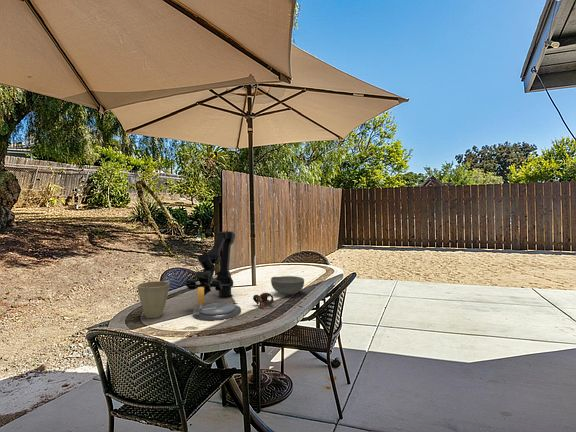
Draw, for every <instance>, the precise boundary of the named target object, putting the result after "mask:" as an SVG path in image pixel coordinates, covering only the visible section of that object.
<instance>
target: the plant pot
mask: <svg viewBox="0 0 576 432" xmlns="http://www.w3.org/2000/svg"><path fill="white" fill-rule="evenodd" d="M136 287H137V292H138V293H137V294H138V297H139V298H138V299H139V301H140V305H141V307H142V310H143V313H144V315H145V317H146V318H147V319H156V318H160V317H161V316H162V315H163V313H164V310H165V307H166V303H167V300H168V295H169V288H170V282H168V281H164V280H163V281H162V280H158V281H147V282H141V283H139V284H137V286H136Z"/></svg>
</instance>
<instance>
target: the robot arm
mask: <svg viewBox="0 0 576 432" xmlns="http://www.w3.org/2000/svg"><path fill="white" fill-rule="evenodd" d="M216 234H217V235H216V238H215V241H214V243H213V246H212V248H211V249H210V250H208V251H203V253H201V254H199V256H198V258H197V260H198V263H199V264H200V267H201V268H202V271H196V272H195V278H196V279H197V281H195V280H194V279H186V281H185V283H184V285H185V287H187V289H188V290H190V291H191V290H197V288H198V287H204V297H205V296H206V295H207V294H208V293H211V292H212V288H214V289H215V291H218V297H220V298H222V299H225V298H230V297H233V294H232V287H234V280H233V278H232V273H231V272H230V261H231V260H230V259H231V258H230V257H231V249H232V248H231V247H232V245H233V244H234V241H235V239H236V234H235V233H234V231H229V230H227V231H226V230H225V231H224V230H223V231H219V232H217V233H216ZM221 251H222V252H221ZM220 263H221V264H220ZM218 264H220V269H219V271H217V269H216V268H217V267H216V265H218ZM216 271H217V273H216V279H215V280H214V277H213V276H214V273H215V272H216Z"/></svg>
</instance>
